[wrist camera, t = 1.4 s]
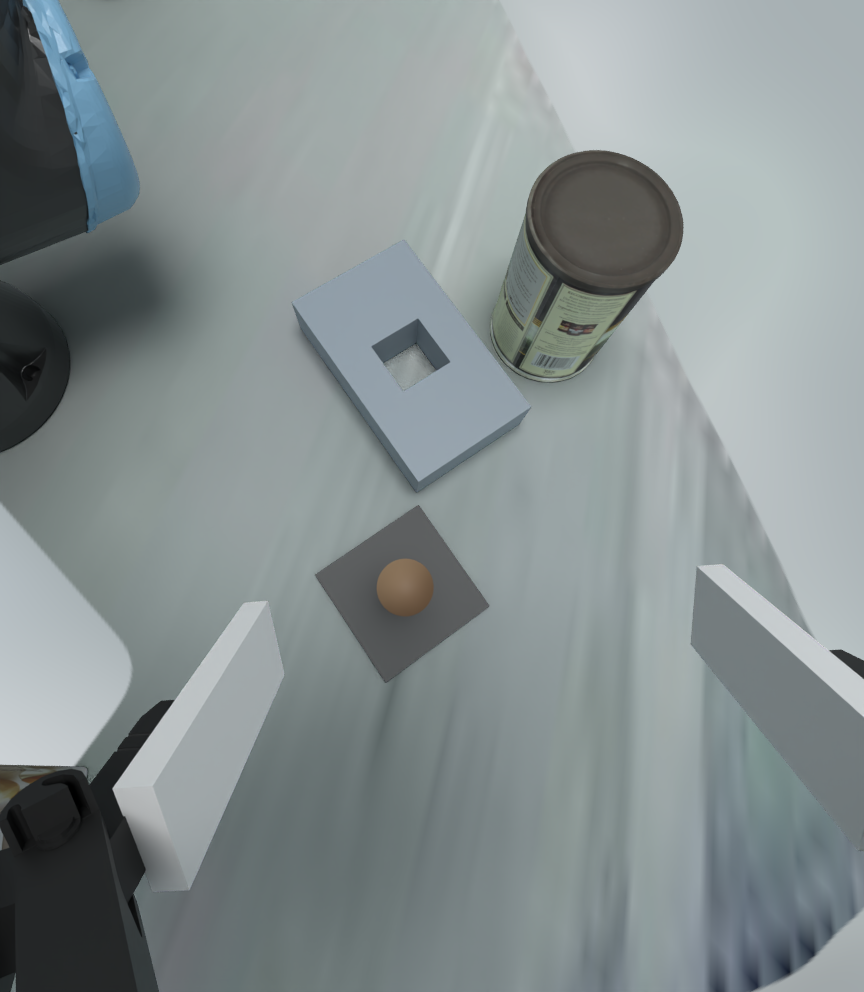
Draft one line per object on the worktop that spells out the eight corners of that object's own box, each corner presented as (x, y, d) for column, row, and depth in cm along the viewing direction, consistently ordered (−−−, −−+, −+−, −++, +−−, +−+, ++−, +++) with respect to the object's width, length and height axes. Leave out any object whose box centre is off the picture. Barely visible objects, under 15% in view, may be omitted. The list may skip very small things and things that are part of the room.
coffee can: (571, 268, 47) (642, 132, 34) (616, 362, 46) (711, 260, 32) (471, 299, 46) (503, 170, 32) (514, 398, 44) (567, 307, 30)
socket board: (300, 328, 44) (291, 302, 40) (403, 269, 46) (404, 239, 42) (416, 492, 42) (418, 481, 38) (519, 423, 44) (531, 406, 40)
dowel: (374, 585, 40) (365, 580, 28) (407, 562, 40) (412, 547, 28) (397, 619, 39) (397, 628, 28) (430, 595, 40) (444, 594, 28)
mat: (315, 575, 40) (315, 574, 40) (418, 505, 42) (418, 504, 41) (385, 681, 39) (385, 682, 38) (488, 606, 40) (489, 606, 40)
